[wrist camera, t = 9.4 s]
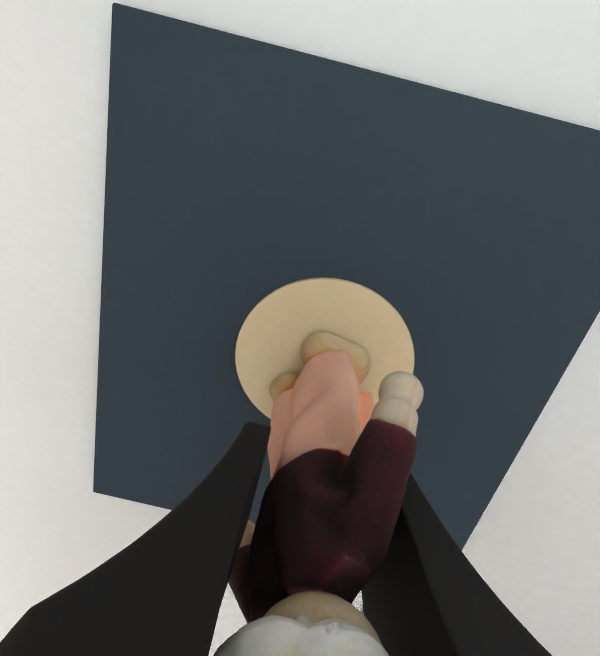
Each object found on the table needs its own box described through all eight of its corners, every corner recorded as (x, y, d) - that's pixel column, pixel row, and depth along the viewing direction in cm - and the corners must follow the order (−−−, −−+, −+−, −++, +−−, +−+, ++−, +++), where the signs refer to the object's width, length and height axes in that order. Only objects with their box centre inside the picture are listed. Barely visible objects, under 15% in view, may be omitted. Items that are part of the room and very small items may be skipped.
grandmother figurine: (324, 459, 19) (308, 989, 7) (242, 423, 18) (84, 928, 7) (423, 311, 16) (676, 819, 4) (327, 263, 15) (308, 685, 4)
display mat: (446, 564, 22) (449, 577, 22) (97, 484, 22) (90, 495, 21) (679, 153, 14) (695, 154, 13) (119, 5, 13) (108, -1, 13)
